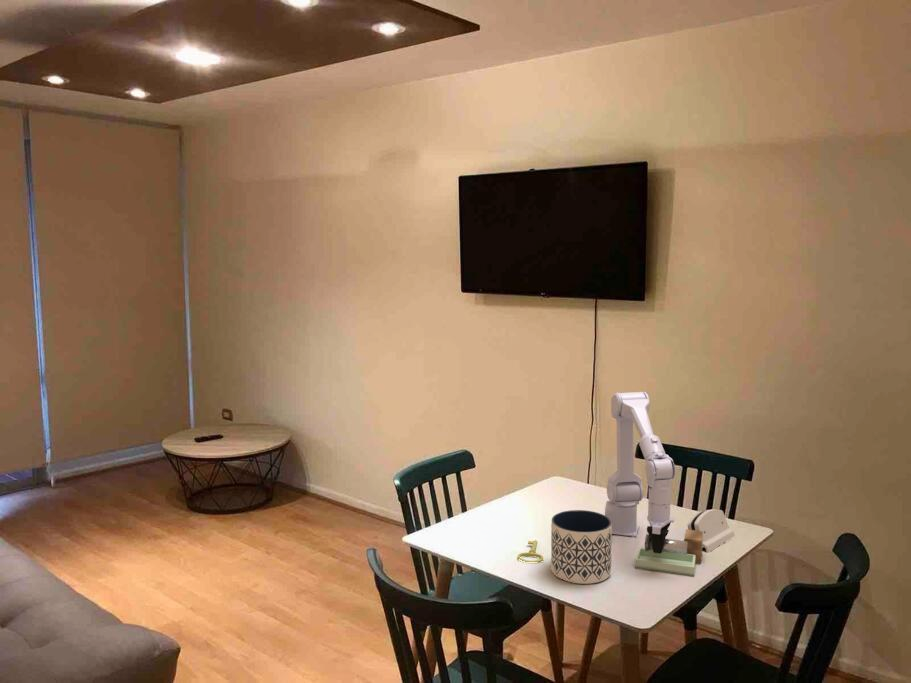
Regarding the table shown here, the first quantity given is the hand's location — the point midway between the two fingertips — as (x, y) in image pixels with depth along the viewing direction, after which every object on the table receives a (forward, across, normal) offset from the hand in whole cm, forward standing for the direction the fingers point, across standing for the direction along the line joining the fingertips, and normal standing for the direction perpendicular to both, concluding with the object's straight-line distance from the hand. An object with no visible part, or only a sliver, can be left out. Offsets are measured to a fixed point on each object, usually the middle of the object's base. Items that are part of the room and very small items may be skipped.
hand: (658, 549), depth 198 cm
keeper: (+4, +8, -5) cm, 10 cm away
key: (+5, -5, +34) cm, 35 cm away
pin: (+1, 0, -2) cm, 2 cm away
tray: (+4, 0, -2) cm, 5 cm away
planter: (+5, -11, +19) cm, 22 cm away
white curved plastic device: (+5, +22, -13) cm, 26 cm away
